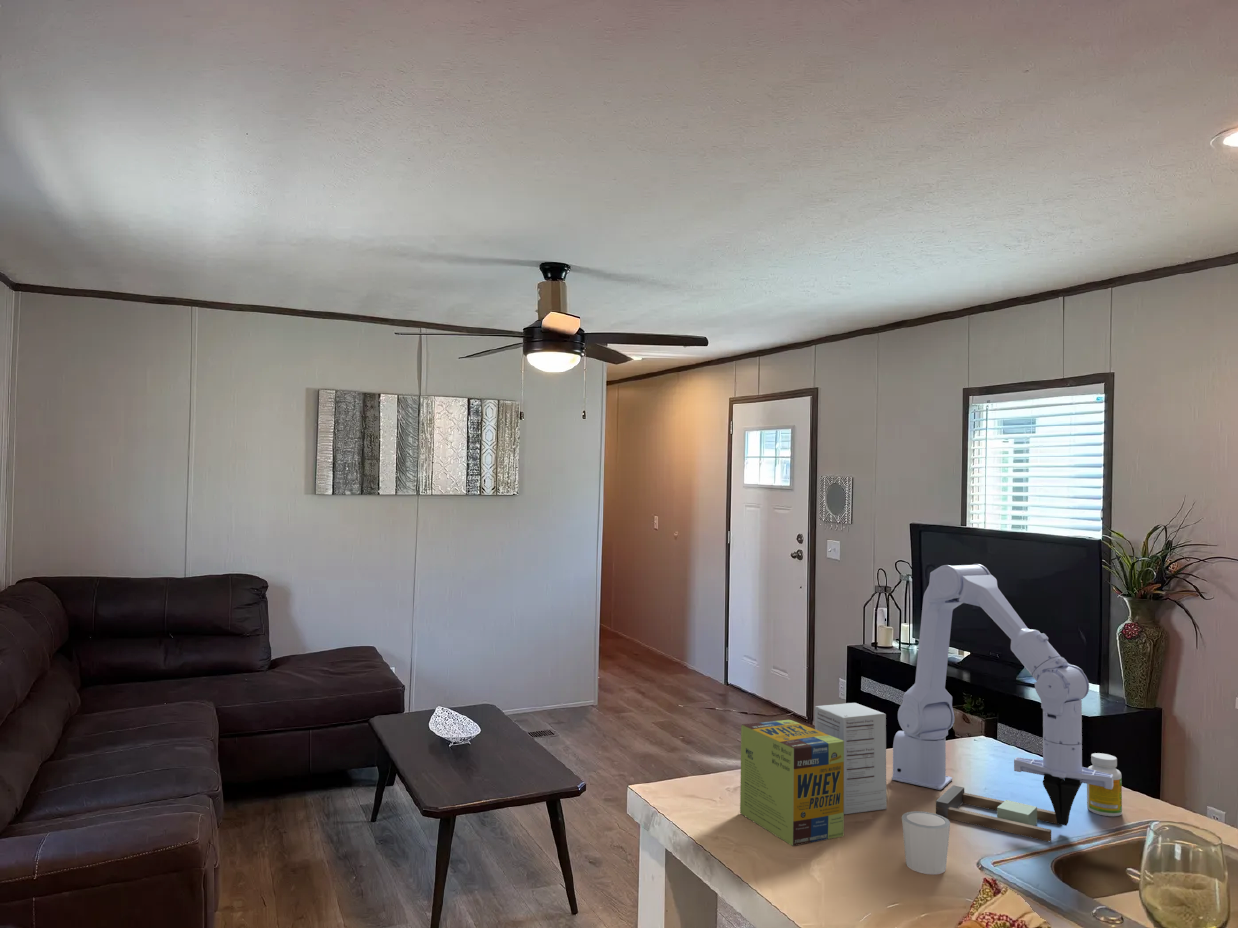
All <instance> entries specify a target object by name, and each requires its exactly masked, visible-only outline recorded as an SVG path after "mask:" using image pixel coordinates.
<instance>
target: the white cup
mask: <svg viewBox="0 0 1238 928" xmlns="http://www.w3.org/2000/svg"><path fill="white" fill-rule="evenodd" d="M901 822H902V825H901V826H902V834H903V835H902V836H903V844H904V845H903V846H904V856H905V857H904V858H905V864H906V866H907V868H909V869H910V870H912V871H914V872H916V873H920V874H925V875H935V876H936V875H940V874H943V873H945V871H946V869H947V862H948V860H947V859H948V852H949V839H950V830H951V821H950V819H949V818H945V817H943V816H940V815H937V814H936V813H934V812H930V811H929V812H928V811H920V810H919V811H917V810H916V811H908V812H904V813H903V814H902V816H901Z"/></svg>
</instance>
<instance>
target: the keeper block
mask: <svg viewBox="0 0 1238 928" xmlns="http://www.w3.org/2000/svg"><path fill="white" fill-rule="evenodd" d="M1003 801H1004V802H1003V803H1002V804H1001V805H999V806H998V807H997V811H996V817H997V818H1001V819H1006V820H1010V821H1015V822H1019V823H1024V824H1028V825H1033V826H1037V825H1038V820H1037V808H1038V807H1037V806H1035V805H1030V804H1025V803H1023V802H1022V803H1021V802H1017V801H1013V800H1008V799H1005V800H1003Z"/></svg>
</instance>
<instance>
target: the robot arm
mask: <svg viewBox="0 0 1238 928" xmlns="http://www.w3.org/2000/svg"><path fill="white" fill-rule="evenodd" d="M928 582H929V583H928V586H927V587H926V590H925V591H924V593H923V598H922V608H921V609H922V610H921V617H920V628H919V638H918V649H917V660H916V661H917V662H916V669H915V681H914V684H912V686H911V687H910V688H908V689H907V691H905V692H904V694H903V696H902V703H901V704H900V706H899V708H898V709H897V710H898V711H897V720H898V721H897V722H898V724H899V726H900V728H901V729H902V730H898V731H897V732H896V733H895V735H894V737H893V744H892V777H891V780H892V781H898V782H902V783H906V784H911V785H915V786H920V787H924V788H929V789H934V790H939V791H941V790H942V789H944V788H945V787H946V786H947V785H948V784H950V782H951V781H953V777H952V776H949V775H947V774H946V773H947V772H946V770H947V769H946V766H947V763H946V759H947V758H946V757H947V755H946V753H947V752H946V750H947V749H946V747H947V745H946V743H947V742H946V737H947V736H948V735H949V730H951V728H952V727H953V726H954V724H955V712H954V708H953V696H952V695H951V694H950V693H949V692H948V690H947V689H946V682H947V681H946V680H947V670H948V663H949V662H948V660H949V651H950V639H951V631H952V630H951V629H952V619H953V611H954V610H955V609H956V608H957V607H960V606H961V605H962V604H968V605H972V606H976V607H979V608H981V609H982V610H983V611H984V612H985V613H986V615H988V617H990V619H992V620H993V622H994V623H995V624H996V625H997V626H998V627H999V628H1000V629H1001V630H1002V631H1003V632H1004V634H1005V635H1006V636H1007V637H1008V638H1009V639H1010V651H1011V652H1012V653H1013V654H1014V656H1015V657H1016V658H1017V659H1018V661H1020V663H1021V664H1022V665H1023V666H1024V668H1025V669H1026V670H1027V672H1029V674H1030V676H1032V678H1033V679H1034V680H1035V682H1034V688H1035V692H1036V695H1037V696H1038V697H1039V699H1040V706H1041V707H1040V708H1041V709H1042V759H1035V758H1024V757H1018V756H1016V757H1015V758H1014V760H1013V770H1014V772H1018V773H1022V772H1025V773H1030V774H1034V775H1035V774H1036V775H1040V776H1043V779H1042V785H1043V788H1044V789H1045V791H1046V793H1047V795H1048V797H1049V799H1050V801H1051V804H1052V806H1053V807H1052V808H1053V812H1055V815H1056V820H1057V824H1056V825H1059V824H1060V825H1061V826H1065V827H1067V826H1068V824H1069V822H1070V821H1069V819H1070V815H1071V814H1070V813H1071V809H1072V807H1073V803H1074V801H1075V798H1076V796H1077V793H1078V792H1079V790H1080V787H1081V786H1082V784H1086V785H1087V784H1091V785H1096V786H1102V787H1104V788H1106V789H1111V790H1112V788H1113V774H1108V773H1103V772H1099V771H1096V770H1092V769H1088V767H1084V766H1083V750H1082V749H1083V745H1082V744H1083V736H1082V735H1083V733H1082V732H1083V729H1082V728H1083V722H1082V720H1083V717H1082V713H1083V707H1082V706H1083V705H1082V704H1083V703H1082V700H1083V699H1085V698H1086V697H1087V696H1088V694H1089V692H1090V681H1089V679H1088V677H1087V675H1086V674H1085V673H1084V670H1083V669H1082V668H1080V667H1079V666H1077V665H1074V664H1071V663H1069V662H1068V661H1067V659H1065V657H1063V656H1061V654H1059V652H1058V651H1057V650H1056V649H1055V648H1054V647H1053V645H1052V644H1051V643H1050V642H1049V637H1048V636H1047V634H1046V633H1044V632H1043V633H1041V632H1040V630H1038V629H1032V628H1031V629H1030V628H1028V626H1027V625H1026V624H1025V622H1024V621H1023V619H1022V618H1021V617H1020V616H1019V614H1018V613H1017V611H1016V610H1015V609H1014V608H1013V606H1012V605H1011V603H1010V602H1009V601H1008V599H1007V598H1006V597H1005V595H1004V594H1003V593H1002V591H1001V590H1000V589H999V587H998V580H997V578H996V577H995V576H994V575H992V574H991V572H990V571H989V569H988V568H987V567H986V566H984V565H983V564H980V563H973V564H961V565H960V564H959V565H949V564H944V565H941V566H939V567H936V568H935V569H934V570H932V571H931V572H930V573H929V580H928Z"/></svg>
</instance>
